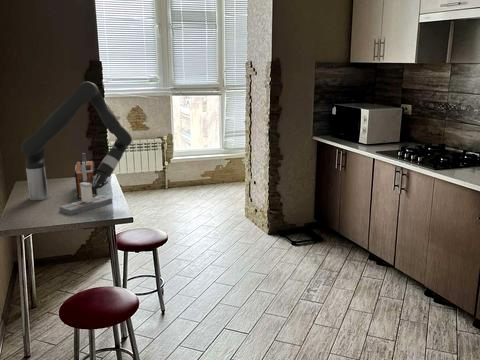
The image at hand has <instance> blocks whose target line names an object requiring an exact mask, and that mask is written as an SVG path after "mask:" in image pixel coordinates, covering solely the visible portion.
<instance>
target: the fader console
mask: <svg viewBox="0 0 480 360" xmlns="http://www.w3.org/2000/svg"><path fill="white" fill-rule="evenodd" d="M92 197H93V202H89V203H86V202H83V201H82V199H81V200H77V201H75V202H71V203H67V204H63V205H59V212H60V213H64V214H66V215H69V214H70V216H73V215H76V213H77V214H79V213H82V212H83V213H84V212H86V211H90V210H94V209H96V208H100V207H103V206H106V205H110V204H113V198H112V197H109V196H104V195H101V194H100V195H96V196H92Z"/></svg>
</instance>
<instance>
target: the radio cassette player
mask: <svg viewBox="0 0 480 360" xmlns="http://www.w3.org/2000/svg"><path fill="white" fill-rule="evenodd" d="M81 156H82V157H81V160H79V161H77V162H75V170H74V176H75V185H76V187H75V188H76V194H77V195H76V196H77V198H81V199H82V197H81V187H80V183H83V182H87V183H90V177H91V176H95V174H96V169H95V161H93V160H90V161H89V160H88V161H87V157H86V153H85V152H84V153H83V152H82V153H81ZM97 190H98V189H96V191H95V192H94V194H93V195H92V197H96V196H98V191H97Z"/></svg>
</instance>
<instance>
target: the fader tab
mask: <svg viewBox="0 0 480 360" xmlns="http://www.w3.org/2000/svg"><path fill="white" fill-rule="evenodd" d="M80 187H81V197H82V198H81V197H80V198H81V200H82V201H83V202H86V203H89V202H93V197H94V196H92V184H91V183H87V182H83V183H80Z"/></svg>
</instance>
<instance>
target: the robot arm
mask: <svg viewBox="0 0 480 360" xmlns="http://www.w3.org/2000/svg"><path fill="white" fill-rule="evenodd" d="M87 102H90V104H91V105H92V106H93V107H94V109H95V110H96V112H97V114H98V116H99V118H100V119H101V121H102V123H103V124H104V126H105V128H106V129H107V130H108V131H109V133H110V134H112V135H114V137H116V140H115V141H114V143H113V144H112V145H113V146H112V147H111V148H110V149H109V150H108V152H107V154H106V156H105V157H104V158H103V159H102V161H101V162H100V164H99V165H98V167H97V169H96V170H97V172H95V176H91V177H90V183H91V184H92V195H93V194H94V192H95V191H96V190H98V189H101V188H103V187H104V186H105V185H107V184H108V183H109V181H108V178H109V177H111V176H112V175H113V173H114V171H115V169H116V168H117V166H118V164H119V162H120V161H121V159H122V157H123V155H124V152H125V151H126V150H127V148H128V147H129V146H130V145H131V144H132V142H133V139H132V136H131V134H130V133H129V132H128V130H126V128H125V127H123V125H122V124H121V123H120V122H119V119H118V118H117V117H116V115H114V113H113V111H112V110H111V109H110V107H109V106H108V105H107V103H106V101H105V100H104V97H103V96H102V93H101V92H100V90H99V87H98V86H97V85H96V84H95V83H93V82H90V81H83V82H81V83H80V85H78V87H76V89H75V91H73V93H72V94H71V95H70V97H68V99H66V100H65V101H64V102H63V103H61V105H60V106H59V107H58V108H56V109H55V110H54V111H53V112H52V113H51V114H50V115H49V116H48V117H47V119H45V121H44V122H43V123H42V124H41V126H40V127H39V128H38V129H37V130H36V131H35V132H34V133H33V134H32V135H30V136H29V137H28V138H26V139H25V140H23V141H22V144H21V151H22V153H23V154H24V155H25V172H26V178H27V186H28V195H29V200H30V201H43V200H46V199H48V198H49V191H48V190H49V189H48V182H47V174H46V165H45V159H46V158H45V151H44V146H45V145H46V144H47V143H48V142H49V141H50V140H51V139H52V138H53V137H55V136H56V135H58V134H59V133H60V132H61V131H63V129H65V128H66V127H67V126H68V125H69V124H70V123H71V121H72V120H73V119H74V118H75V116H76V115H77V113H78V112H79V110H80V109H81V107H83V106H84V105H85V104H86V103H87Z"/></svg>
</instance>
